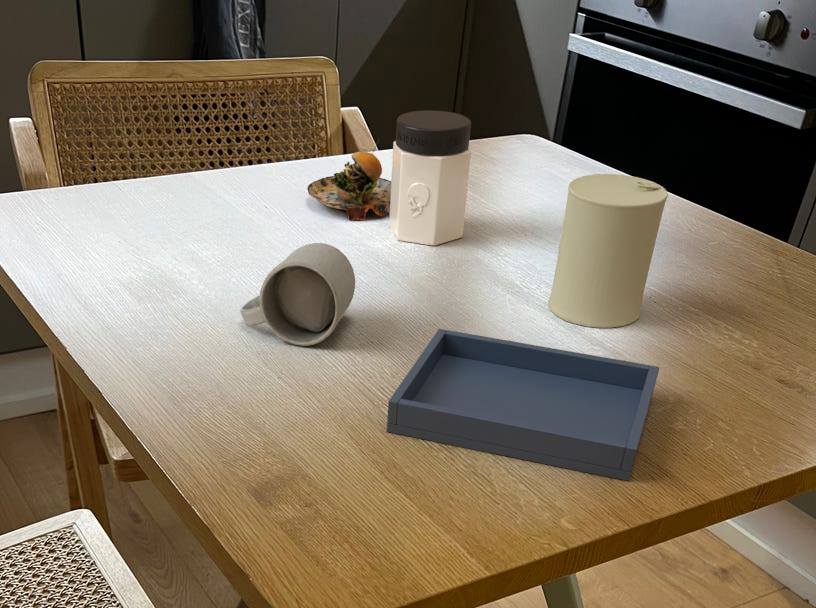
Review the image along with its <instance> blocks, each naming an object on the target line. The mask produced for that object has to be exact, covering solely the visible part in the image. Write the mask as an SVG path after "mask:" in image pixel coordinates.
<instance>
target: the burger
mask: <svg viewBox="0 0 816 608" xmlns="http://www.w3.org/2000/svg"><path fill="white" fill-rule="evenodd" d="M379 141H380V139H377V142H376V144H375V147H374V149H376V148H377V146H378V144H379ZM374 152H375V150H373V151H372V152H368V151H356V152H354V153H352V154H351V155H350V156H351V159H352V161H353V162H354V163H351V161H347V162H346V163H344V167H345V168H344V169H343V170H341V171H339V172H335V173H333V175H330V176H326V177H322V178H319V179H317V180H315V181H312V182H311V183H309V184H308V185H307V188H306V190H307V193H308V194H309V196H311V197H312V198H313V199H315V200H316V201H318V203H320V204H323V206H326V207H329V208H332V209H338V210H343V211H346V214H347V218H348V221H350V222H352V221H355V220H356V221H358V220H359V221H365V220H366V213H367V212H368V211H369V210H372V211H373V212H374V213H375V214H376V215H377V216H378V217H385V215H386V214H388V215H390V199H391V180H388V179H386V178H382V177H381V175H382V173H383V166H382V163H381V161H380V160H379V159H378V157H377V156H375V154H374Z"/></svg>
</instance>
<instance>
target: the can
mask: <svg viewBox="0 0 816 608" xmlns="http://www.w3.org/2000/svg"><path fill="white" fill-rule="evenodd" d="M667 199H668V191H667V189H666V188H665V187H664V186H662V185H660V184H658V183H656V182H654V181H653V180H652V181H651V180H649V179H645V178H643V177H638V176H632V175H626V174H615V173H597V174H587V175H583V176H579V177H576V178H574V179H572V180H571V181H570V182H569V183H568V186H567V198H566V203H565V204H566V205H565V212H564V218H563V224H562V225H563V226H562V230H561V234H560V242H559V248H558V254H557V260H556V265H555V271H554V275H553V277H554V278H553V282H552V287H551V292H550V297H549V299H548V302H547V305H548V309H549V310H550V312H552V313H553V314H554V315H555V316H556V317H558V318H559V319H562V320H563V321H566V322H569V323H572V324H574V325H578V326H583V327H587V328H588V327H590V328H598V329H599V328H601V329H602V328H603V329H606V328H607V329H609V328H610V329H611V328H619V327H620V328H621V327H624V326H627V325H631V324H633V323H635V322H636V321H637V320H638V319H639V318H640V316H641V313H642V302H643V297H644V292H645V289H646V284H647V279H648V276H649V271H650V267H651V262H652V258H653V253H654V250H655V245H656V242H657V238H658V232H659V229H660V225H661V221H662V217H663V212H664V210H665V209H664V208H665V205H666V202H667Z"/></svg>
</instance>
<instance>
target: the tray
mask: <svg viewBox="0 0 816 608" xmlns="http://www.w3.org/2000/svg"><path fill="white" fill-rule="evenodd" d="M659 371H660V366H657V365H650V364H645V363H640V362H634V361H629V360H622V359H618V358H617V359H616V358H610V357H606V356H605V357H604V356H599V355H593V354H588V353H581V352H575V351H571V350H564V349H559V348H553V347H548V346H542V345H535V344H530V343H523V342H517V341H512V340H507V339H501V338H495V337H490V336H484V335H478V334H472V333H466V332H461V331H455V330H449V329H443V328H438V329H437V331H436V332H435V333H434V335H433V337H432V338H431V339H430V341H429V343H428V344H427V345H426V347H425V348H424V349H423V351H422V352H421V354H420V355H419V356H418V358H417V359H416V361H415V362H414V364H413V365H412V367H411V368H410V369H409V371H408V373H407V374H406V376H405V377H404V378H403V380H402V381H401V382H400V384H399V386H397V388H396V390H395V391H394V393H393V394H392V395H391V396H390V398H389V400H388V401H387V402H388V403H387V418H386V419H387V420H386V421H387V422H386V432H387V433H391V434H396V435H400V436H401V435H402V436H405V437H411V438H416V439H421V440H426V441H430V442H431V441H432V442H435V443H440V444H445V445H450V446H455V447H459V448H465V449H470V450H474V451H479V452H484V453H489V454H495V455H499V456H504V457H507V458H508V457H509V458H513V459H514V458H515V459H517V460H522V461H523V460H524V461H529V462H532V463H533V462H534V463H539V464H543V465H547V466H553V467H557V468H563V469H567V470H573V471H578V472H582V473H587V474H593V475H597V476H602V477H606V478H612V479H616V480H620V481H621V480H622V481H626V482H629V481H630V478H631V475H632V472H633V467H634V464H635V460H636V457H637V453H638V450H639V446H640V441H641V438H642V435H643V431H644V428H645V423H646V420H647V416H648V412H649V409H650V406H651V403H652V398H653V394H654V391H655V386H656V383H657V379H658V374H659Z"/></svg>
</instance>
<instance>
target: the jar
mask: <svg viewBox="0 0 816 608" xmlns="http://www.w3.org/2000/svg"><path fill="white" fill-rule="evenodd" d="M471 128H472V121H471V119H469V118H468V117H466V116H464V115H463V114H459V113H455V112H451V111H446V110H445V111H444V110H415V111H408V112H405V113H402V114H400V115H399V116H398V117H397V119H396V128H395V129H396V130H395V133H396V134H395V140H394V141H393V144H392V145H393V146H392V160H391V161H392V162H391V164H392V165H391V180H390V181H391V199H390V214H389V220H388V221H389V222H388V226H389V228H390V230H391V231H392V234H393V236H394V237H395V239H396V240H397V241H398V242H399V241H400V242H405V243H413V244H419V245H426V246H431V247H435V246H438V245H441V244H445V243H449V242H452V241H455V240H458V239H461V238H463V235H464V226H465V225H464V224H465V215H466V207H467V197H468V187H469V179H470V178H469V177H470V168H471V158H472V151H471V150H470V148H469V147H470V140H471V138H470V137H471Z"/></svg>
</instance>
